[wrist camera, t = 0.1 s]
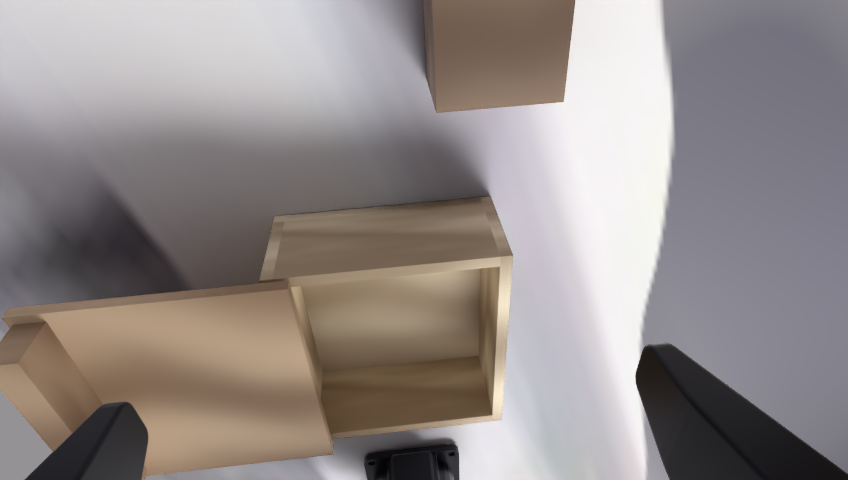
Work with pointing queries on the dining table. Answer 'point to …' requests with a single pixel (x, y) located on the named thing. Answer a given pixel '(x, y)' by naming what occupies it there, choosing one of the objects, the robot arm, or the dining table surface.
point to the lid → (173, 373)
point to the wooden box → (400, 311)
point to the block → (496, 52)
